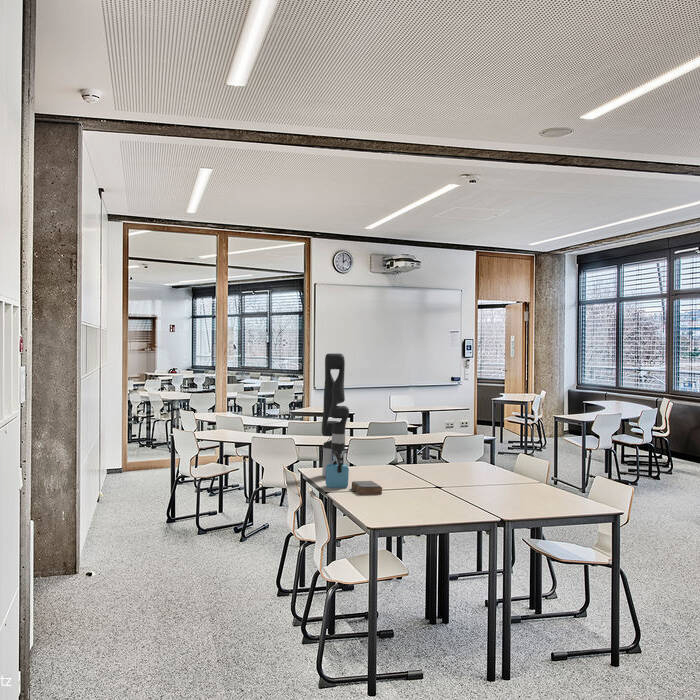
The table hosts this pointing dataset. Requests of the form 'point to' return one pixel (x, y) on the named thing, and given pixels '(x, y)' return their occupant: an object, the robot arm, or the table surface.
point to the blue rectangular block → (337, 476)
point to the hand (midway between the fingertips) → (337, 471)
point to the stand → (366, 487)
